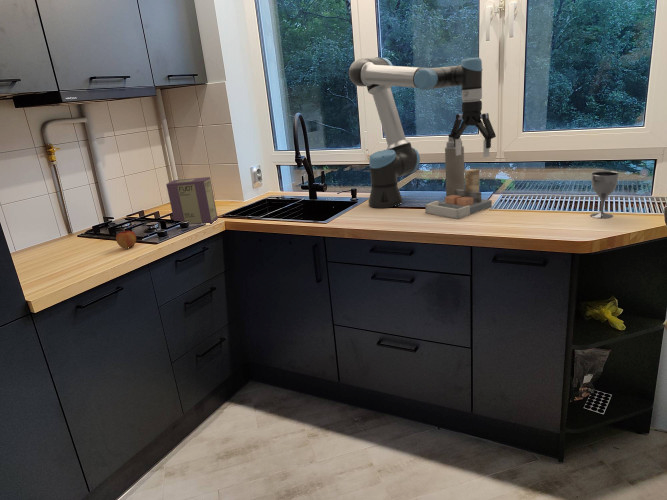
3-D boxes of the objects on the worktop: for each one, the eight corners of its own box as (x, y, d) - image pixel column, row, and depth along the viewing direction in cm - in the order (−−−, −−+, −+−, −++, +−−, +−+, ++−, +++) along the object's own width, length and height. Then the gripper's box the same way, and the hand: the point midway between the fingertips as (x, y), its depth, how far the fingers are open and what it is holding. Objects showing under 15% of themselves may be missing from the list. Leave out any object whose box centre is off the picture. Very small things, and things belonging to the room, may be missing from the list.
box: (218, 219, 218) (210, 176, 211) (211, 225, 209) (203, 180, 203) (183, 222, 219) (174, 180, 213) (175, 228, 211) (166, 184, 204)
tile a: (445, 203, 194) (445, 197, 193) (452, 200, 196) (452, 194, 196) (453, 204, 190) (453, 198, 190) (461, 202, 193) (461, 196, 192)
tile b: (456, 204, 189) (456, 198, 188) (464, 202, 192) (464, 196, 191) (466, 206, 186) (466, 200, 185) (473, 203, 188) (473, 197, 187)
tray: (425, 213, 192) (425, 204, 191) (437, 209, 196) (437, 200, 195) (457, 219, 180) (457, 209, 178) (469, 214, 184) (469, 205, 182)
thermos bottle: (449, 195, 217) (448, 133, 208) (466, 195, 213) (466, 132, 204) (443, 199, 211) (442, 135, 202) (461, 199, 207) (460, 134, 198)
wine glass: (611, 212, 168) (615, 170, 163) (617, 218, 161) (621, 175, 156) (586, 213, 170) (589, 171, 166) (591, 219, 163) (594, 176, 158)
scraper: (454, 199, 198) (454, 170, 194) (463, 196, 201) (463, 168, 197) (478, 202, 189) (478, 173, 185) (487, 199, 192) (487, 170, 188)
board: (437, 209, 196) (437, 203, 195) (459, 201, 204) (459, 195, 203) (469, 214, 184) (469, 208, 183) (491, 206, 191) (491, 200, 190)
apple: (128, 251, 183) (123, 231, 181) (114, 250, 186) (109, 231, 184) (142, 245, 190) (137, 226, 187) (128, 244, 192) (123, 226, 190)
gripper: (440, 103, 191) (441, 155, 197) (493, 100, 171) (492, 159, 178) (452, 101, 195) (453, 153, 201) (505, 98, 175) (504, 155, 182)
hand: (472, 155), depth 190 cm, fingers open, 13 cm apart
